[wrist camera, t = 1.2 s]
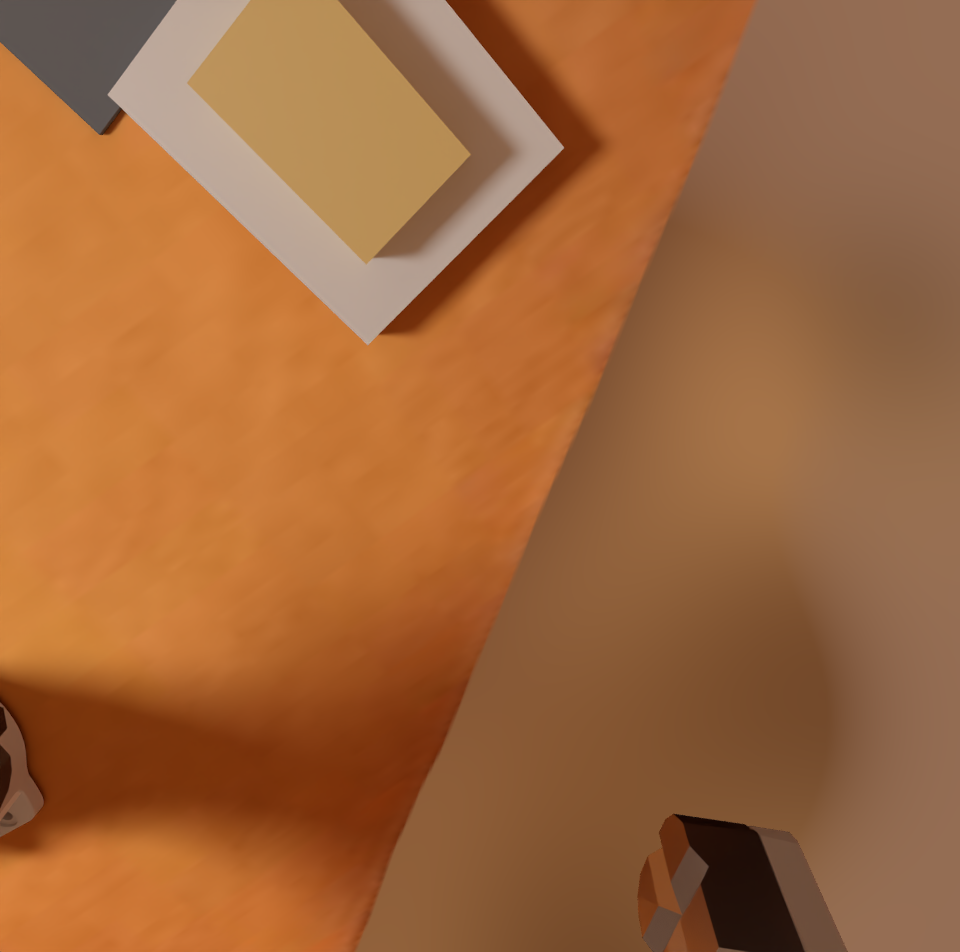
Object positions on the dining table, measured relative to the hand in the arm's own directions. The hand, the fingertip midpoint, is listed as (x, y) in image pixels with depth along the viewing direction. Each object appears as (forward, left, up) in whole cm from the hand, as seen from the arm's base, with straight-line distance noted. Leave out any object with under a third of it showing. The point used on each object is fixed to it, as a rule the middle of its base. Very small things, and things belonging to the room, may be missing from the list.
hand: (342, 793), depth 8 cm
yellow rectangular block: (+3, +8, -25) cm, 27 cm away
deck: (+3, +8, -27) cm, 29 cm away
